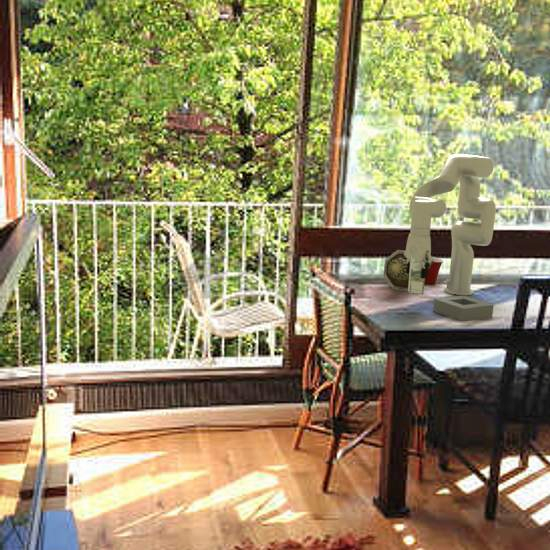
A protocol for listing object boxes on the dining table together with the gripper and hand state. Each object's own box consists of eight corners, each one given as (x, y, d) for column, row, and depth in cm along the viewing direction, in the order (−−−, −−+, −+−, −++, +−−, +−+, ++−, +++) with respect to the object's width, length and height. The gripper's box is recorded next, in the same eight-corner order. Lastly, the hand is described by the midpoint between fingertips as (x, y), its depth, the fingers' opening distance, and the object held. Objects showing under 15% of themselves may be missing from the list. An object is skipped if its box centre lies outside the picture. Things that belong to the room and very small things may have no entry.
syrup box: (422, 291, 307) (424, 255, 303) (423, 294, 301) (426, 258, 297) (407, 290, 307) (410, 255, 304) (408, 294, 301) (411, 258, 298)
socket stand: (433, 311, 303) (434, 298, 302) (462, 307, 312) (464, 295, 311) (462, 321, 290) (463, 308, 289) (492, 317, 298) (493, 304, 297)
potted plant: (392, 250, 352) (378, 243, 323) (431, 256, 345) (420, 250, 317) (385, 288, 351) (371, 284, 323) (424, 295, 345) (413, 292, 317)
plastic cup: (443, 286, 349) (446, 260, 346) (419, 285, 349) (422, 259, 346) (439, 281, 359) (441, 256, 357) (416, 280, 360) (418, 255, 357)
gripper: (398, 228, 304) (395, 271, 308) (428, 236, 289) (424, 281, 293) (412, 227, 307) (409, 270, 311) (442, 234, 293) (439, 279, 297)
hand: (416, 275), depth 302 cm, fingers closed on syrup box, 8 cm apart
